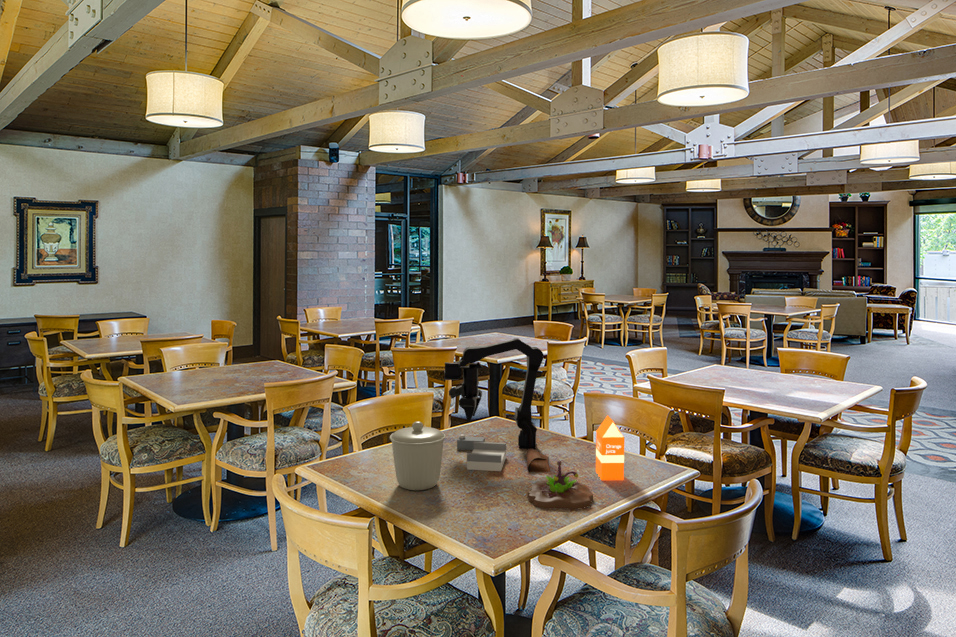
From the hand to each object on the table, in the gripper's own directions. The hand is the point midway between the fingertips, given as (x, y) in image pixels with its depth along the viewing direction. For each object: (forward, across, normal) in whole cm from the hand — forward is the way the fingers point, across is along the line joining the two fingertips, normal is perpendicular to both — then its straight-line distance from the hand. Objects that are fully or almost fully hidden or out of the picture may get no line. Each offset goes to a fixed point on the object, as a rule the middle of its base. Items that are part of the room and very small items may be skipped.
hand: (470, 419), depth 246 cm
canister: (+12, +44, -10) cm, 47 cm away
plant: (+12, +47, +36) cm, 61 cm away
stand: (+12, +18, +9) cm, 23 cm away
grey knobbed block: (+12, 0, 0) cm, 12 cm away
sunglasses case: (+12, +16, +27) cm, 34 cm away
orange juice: (+12, +25, +52) cm, 59 cm away
